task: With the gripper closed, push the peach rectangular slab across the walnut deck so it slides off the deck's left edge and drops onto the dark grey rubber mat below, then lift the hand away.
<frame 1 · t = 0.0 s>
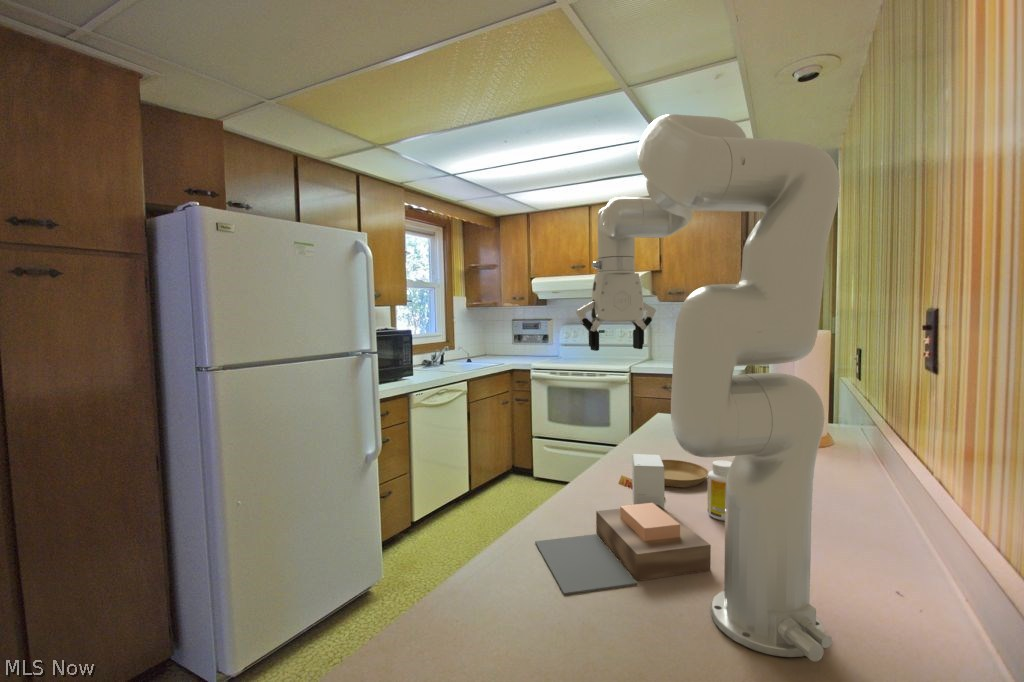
hand: (616, 349, 104), 31 cm above the countertop, tool pointing down, fingers open, 9 cm apart
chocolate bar: (640, 493, 109), on the countertop
mat: (581, 562, 78), on the countertop
plant saucer: (674, 480, 116), on the countertop
peach rectangular slab: (648, 526, 82), point 4 cm above the countertop, touching deck
supplement bottle: (723, 517, 95), on the countertop
small box: (647, 513, 97), on the countertop
deck: (648, 550, 82), on the countertop
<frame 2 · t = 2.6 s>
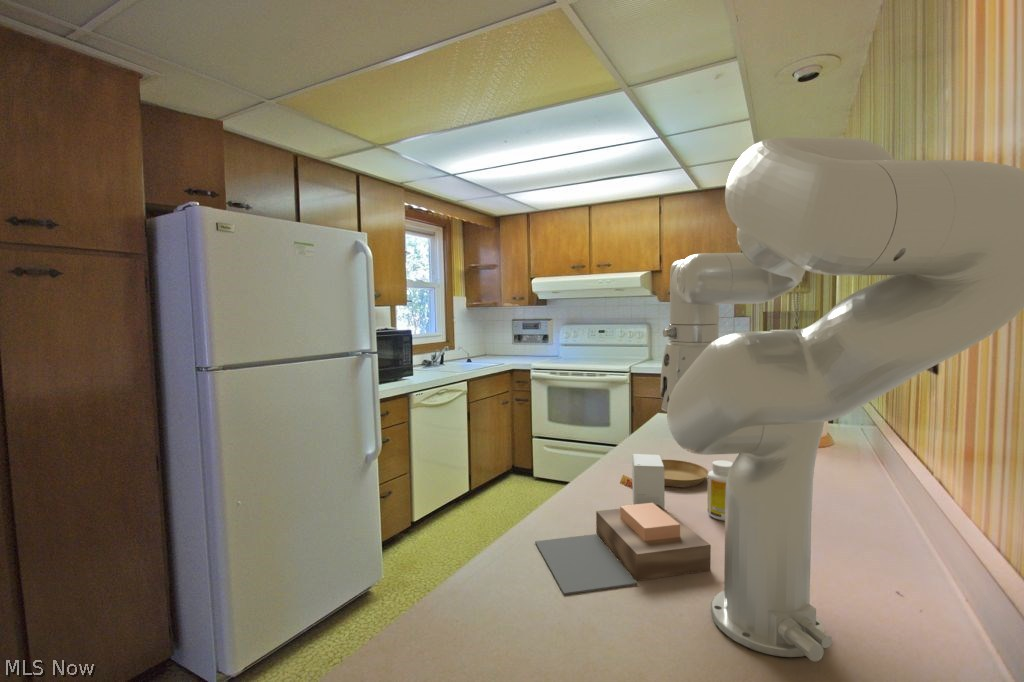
hand: (692, 444, 83), 17 cm above the countertop, tool pointing down, fingers closed
nothing on the countertop moved.
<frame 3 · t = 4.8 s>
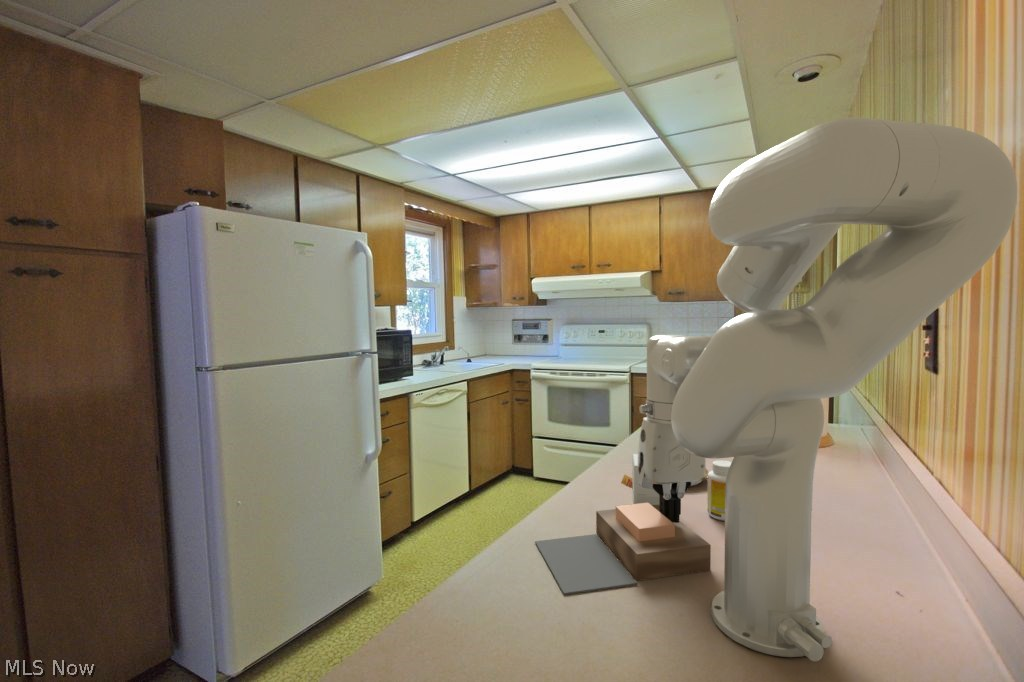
hand: (670, 519, 82), 5 cm above the countertop, tool pointing down, fingers closed
nothing on the countertop moved.
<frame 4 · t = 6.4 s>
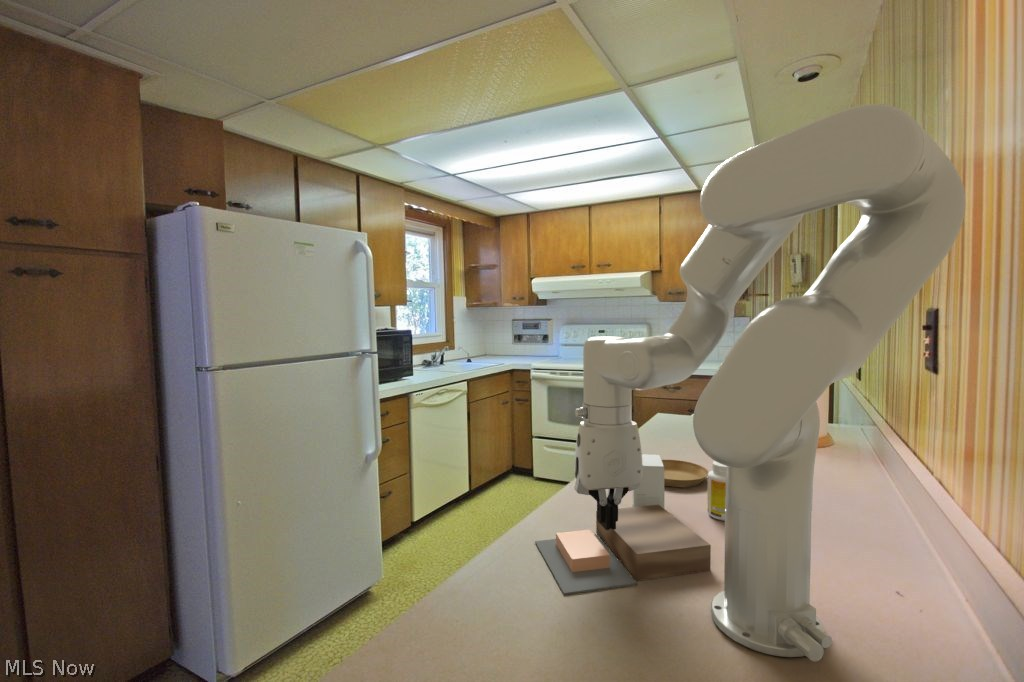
hand: (607, 526, 80), 5 cm above the countertop, tool pointing down, fingers closed
peach rectangular slab: (581, 543, 80), point 2 cm above the countertop, tilted 180°, touching mat
everything else where it was.
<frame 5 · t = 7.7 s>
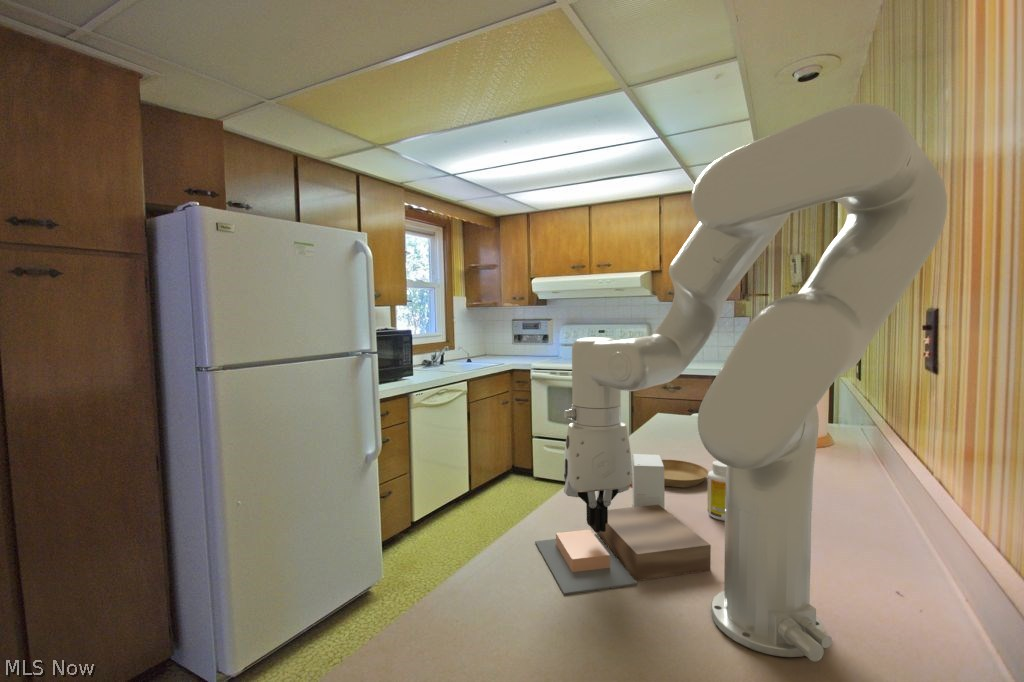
hand: (597, 528, 80), 5 cm above the countertop, tool pointing down, fingers closed
nothing on the countertop moved.
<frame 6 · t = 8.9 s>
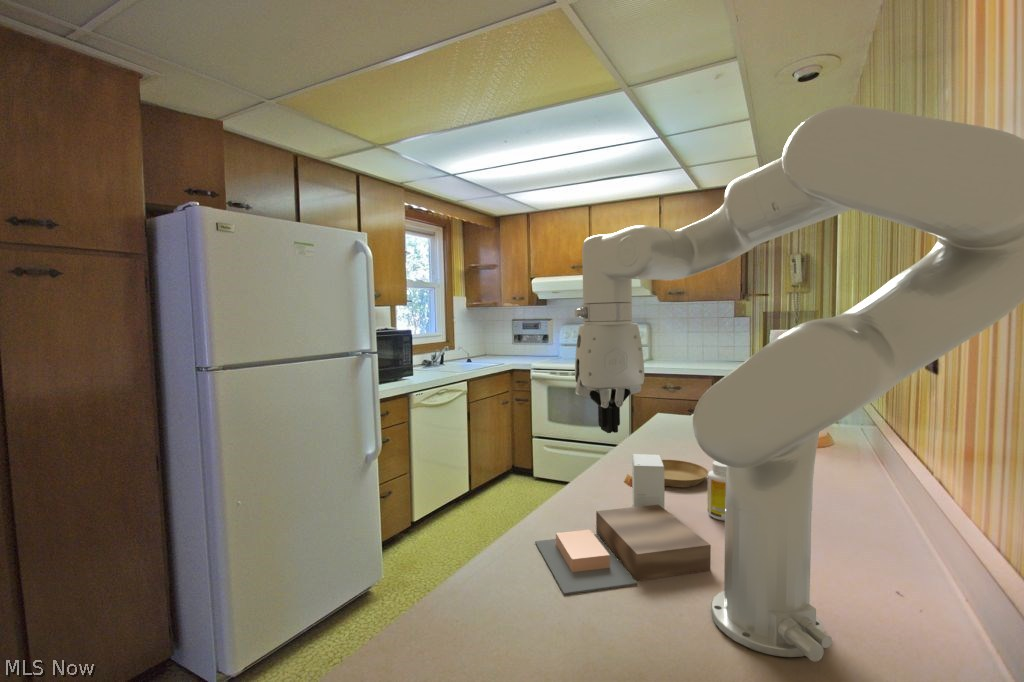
hand: (609, 430, 79), 20 cm above the countertop, tool pointing down, fingers closed
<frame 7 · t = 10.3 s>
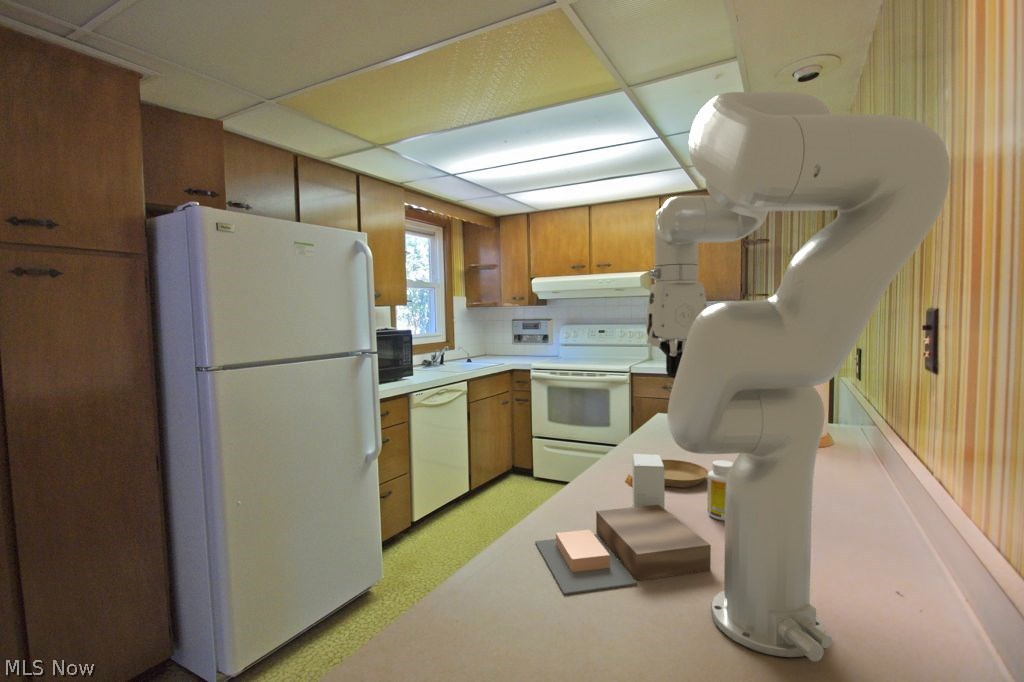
hand: (675, 377, 91), 27 cm above the countertop, tool pointing down, fingers closed
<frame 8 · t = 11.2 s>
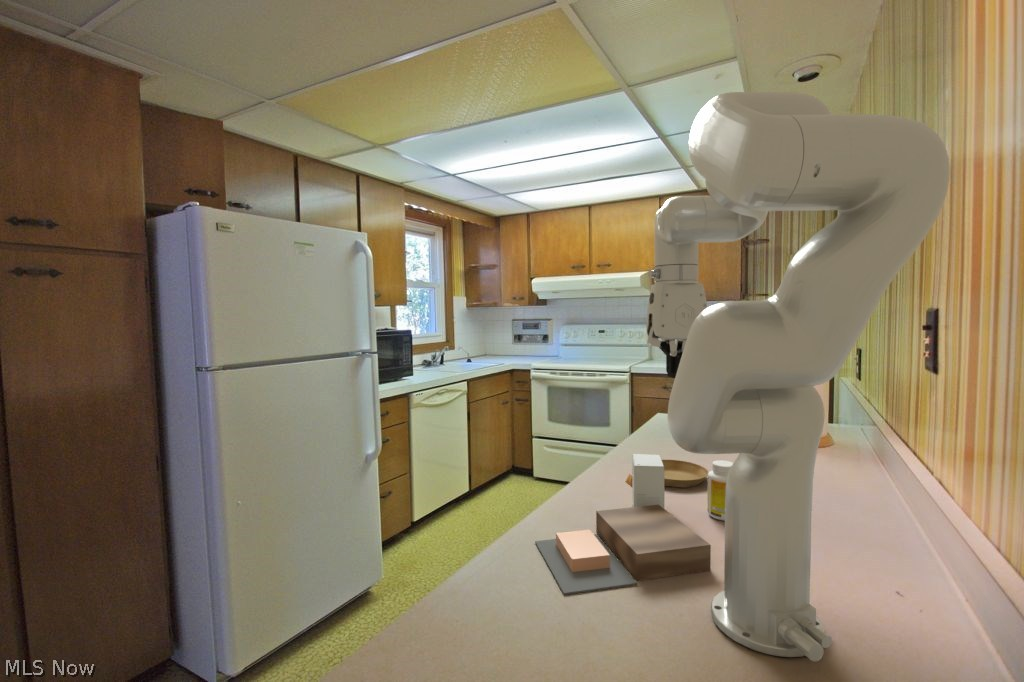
hand: (675, 377, 91), 27 cm above the countertop, tool pointing down, fingers closed
at the end: peach rectangular slab point 2.3 cm above the countertop; peach rectangular slab inside the target area on the mat (1.5 cm from its centre), point 2.3 cm above the mat's base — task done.
